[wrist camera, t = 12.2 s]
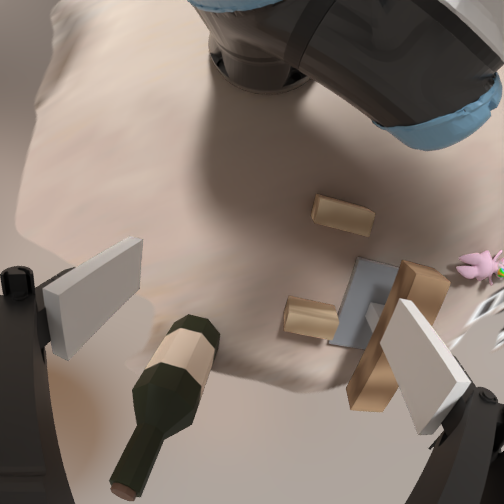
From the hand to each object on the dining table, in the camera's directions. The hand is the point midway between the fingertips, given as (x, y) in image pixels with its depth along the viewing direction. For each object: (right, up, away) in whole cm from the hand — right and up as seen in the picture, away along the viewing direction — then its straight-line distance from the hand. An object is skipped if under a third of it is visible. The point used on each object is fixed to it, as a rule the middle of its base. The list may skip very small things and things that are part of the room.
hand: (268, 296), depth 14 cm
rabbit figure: (+37, 0, +24) cm, 45 cm away
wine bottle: (-10, -12, +33) cm, 36 cm away
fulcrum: (+18, -6, +28) cm, 34 cm away
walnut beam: (+17, -9, +21) cm, 28 cm away
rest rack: (+9, +1, +27) cm, 29 cm away
